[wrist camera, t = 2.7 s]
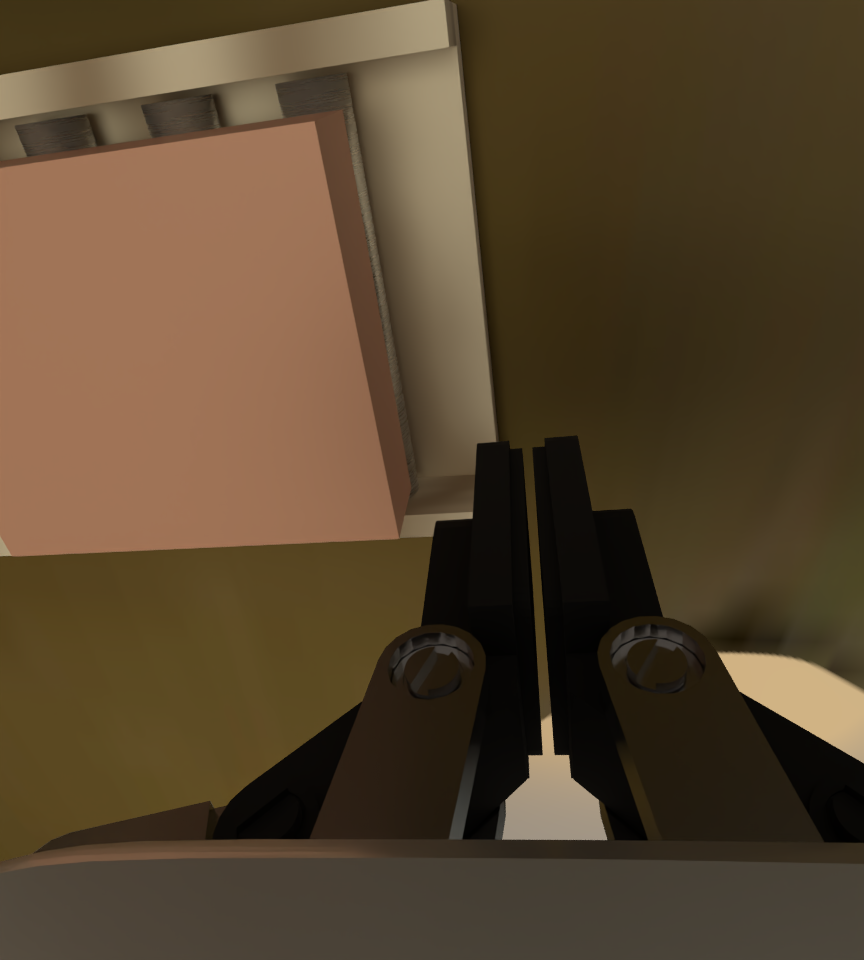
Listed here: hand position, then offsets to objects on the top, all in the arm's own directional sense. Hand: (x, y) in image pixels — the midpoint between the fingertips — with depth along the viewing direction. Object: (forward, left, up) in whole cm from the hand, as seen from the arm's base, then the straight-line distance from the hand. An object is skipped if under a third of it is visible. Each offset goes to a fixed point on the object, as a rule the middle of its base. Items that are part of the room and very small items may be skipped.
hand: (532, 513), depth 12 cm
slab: (+11, 0, -10) cm, 15 cm away
